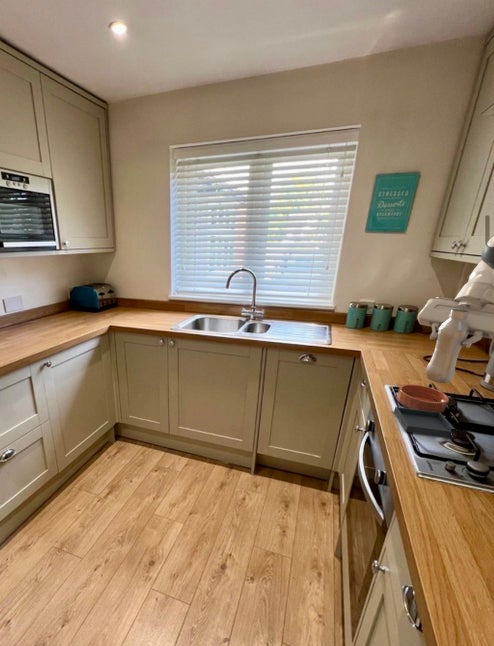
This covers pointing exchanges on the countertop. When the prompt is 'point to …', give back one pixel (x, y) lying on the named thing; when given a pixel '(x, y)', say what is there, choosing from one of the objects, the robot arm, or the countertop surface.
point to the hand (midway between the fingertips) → (448, 342)
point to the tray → (423, 422)
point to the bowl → (422, 398)
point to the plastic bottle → (448, 347)
